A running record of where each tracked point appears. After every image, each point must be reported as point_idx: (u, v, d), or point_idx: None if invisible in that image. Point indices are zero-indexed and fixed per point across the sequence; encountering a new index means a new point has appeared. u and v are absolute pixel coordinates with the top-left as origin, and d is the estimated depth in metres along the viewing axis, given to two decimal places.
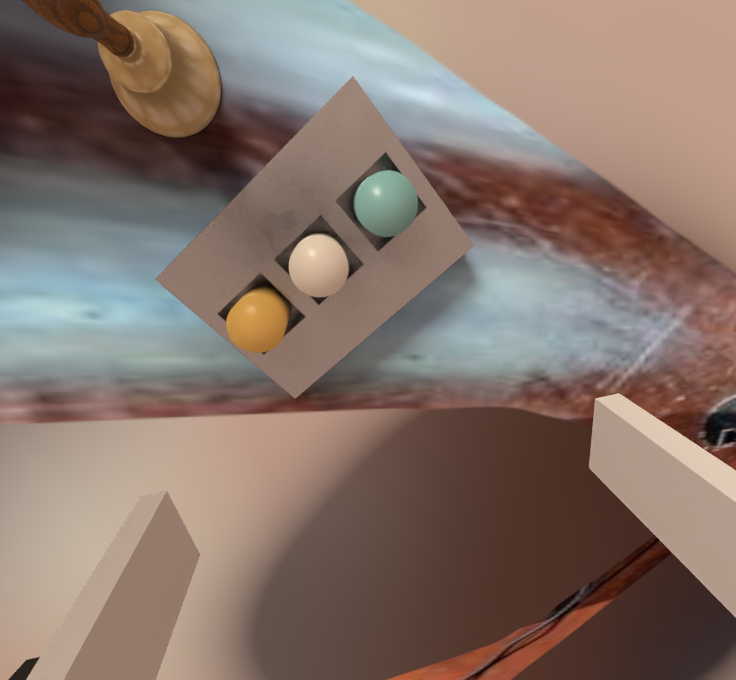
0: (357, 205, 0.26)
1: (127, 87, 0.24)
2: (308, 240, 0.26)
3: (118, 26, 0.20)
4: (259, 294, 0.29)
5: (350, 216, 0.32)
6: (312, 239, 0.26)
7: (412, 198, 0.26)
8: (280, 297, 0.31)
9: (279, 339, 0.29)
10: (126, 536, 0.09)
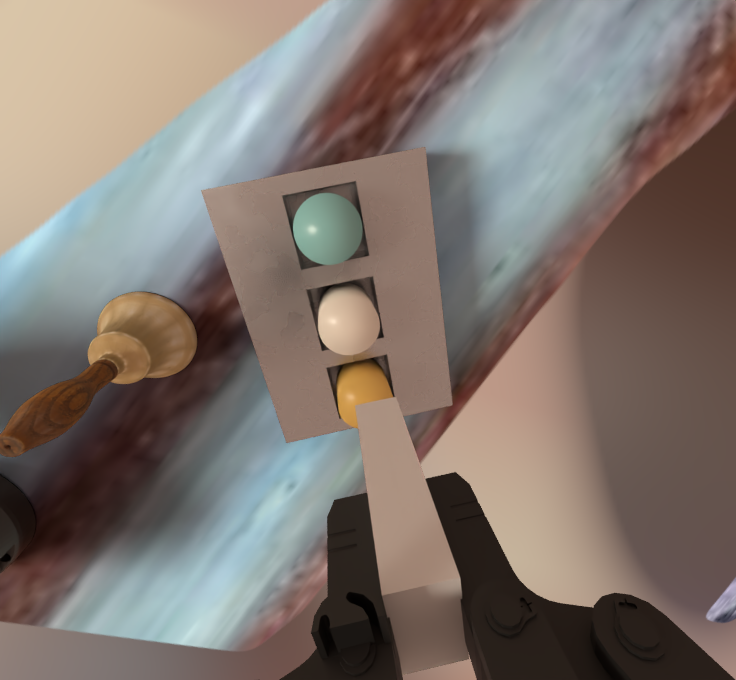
0: (313, 259, 0.24)
1: (141, 378, 0.28)
2: (319, 321, 0.26)
3: (93, 369, 0.24)
4: (342, 383, 0.29)
5: None
6: (320, 317, 0.26)
7: (335, 201, 0.23)
8: (356, 365, 0.31)
9: (389, 394, 0.29)
10: (368, 426, 0.11)
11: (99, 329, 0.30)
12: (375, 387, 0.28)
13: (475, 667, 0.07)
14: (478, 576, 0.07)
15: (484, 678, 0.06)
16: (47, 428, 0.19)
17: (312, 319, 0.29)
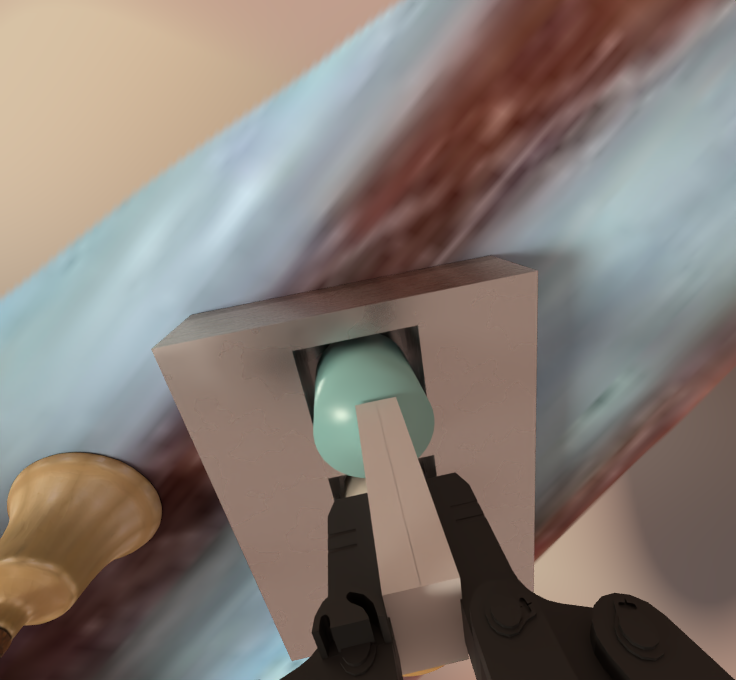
0: (346, 472, 0.14)
1: (62, 614, 0.18)
2: None
3: None
4: None
5: None
6: None
7: (390, 387, 0.13)
8: None
9: None
10: (368, 426, 0.11)
11: (9, 510, 0.20)
12: None
13: (475, 667, 0.07)
14: (478, 576, 0.07)
15: (484, 678, 0.06)
16: None
17: None
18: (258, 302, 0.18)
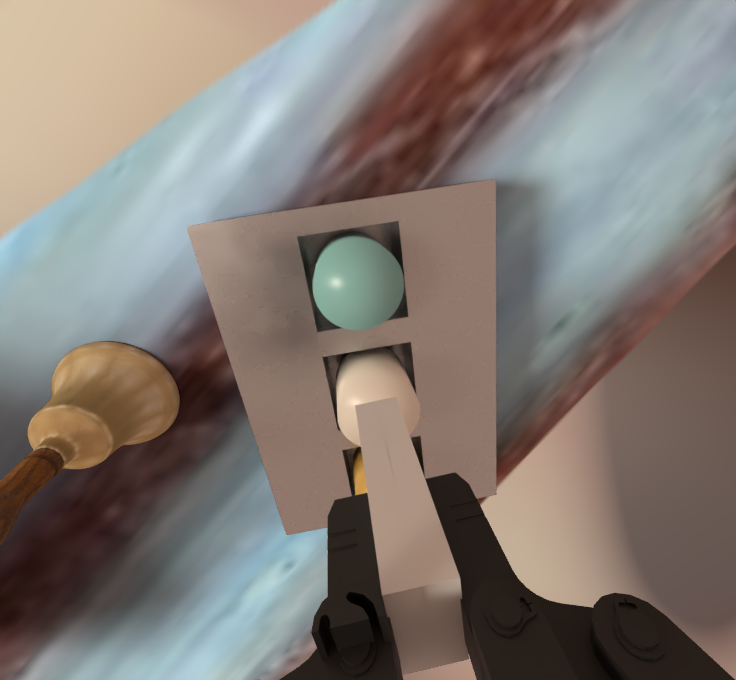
0: (336, 323, 0.18)
1: (100, 462, 0.21)
2: (340, 408, 0.19)
3: (24, 470, 0.17)
4: (363, 474, 0.23)
5: None
6: (342, 403, 0.19)
7: (371, 251, 0.17)
8: None
9: None
10: (368, 426, 0.11)
11: (53, 387, 0.24)
12: None
13: (475, 667, 0.07)
14: (478, 576, 0.07)
15: (484, 678, 0.06)
16: None
17: (328, 392, 0.22)
18: None
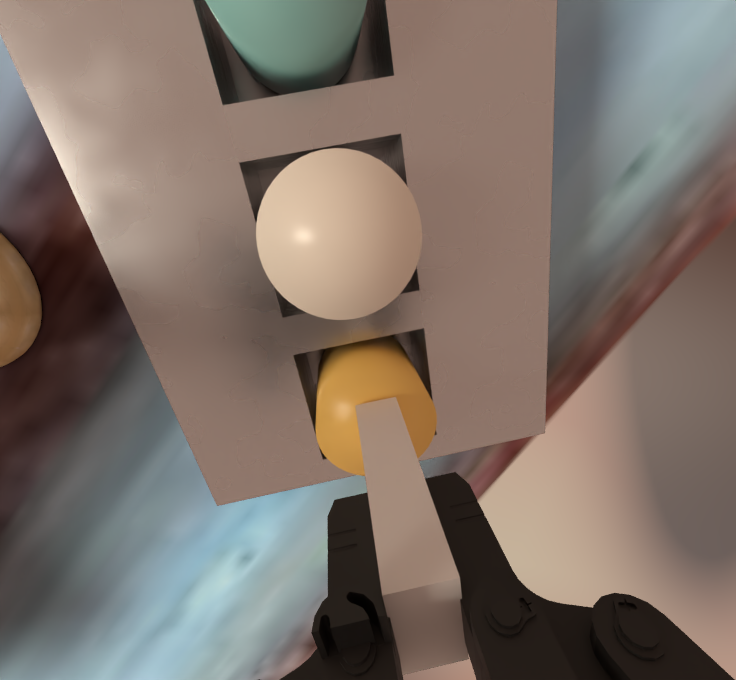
0: (240, 30, 0.09)
1: None
2: (260, 222, 0.09)
3: None
4: (327, 378, 0.14)
5: None
6: (262, 211, 0.09)
7: None
8: (357, 343, 0.15)
9: (428, 404, 0.13)
10: (368, 426, 0.11)
11: None
12: (398, 388, 0.13)
13: (475, 667, 0.07)
14: (478, 576, 0.07)
15: (484, 678, 0.06)
16: None
17: None
18: None
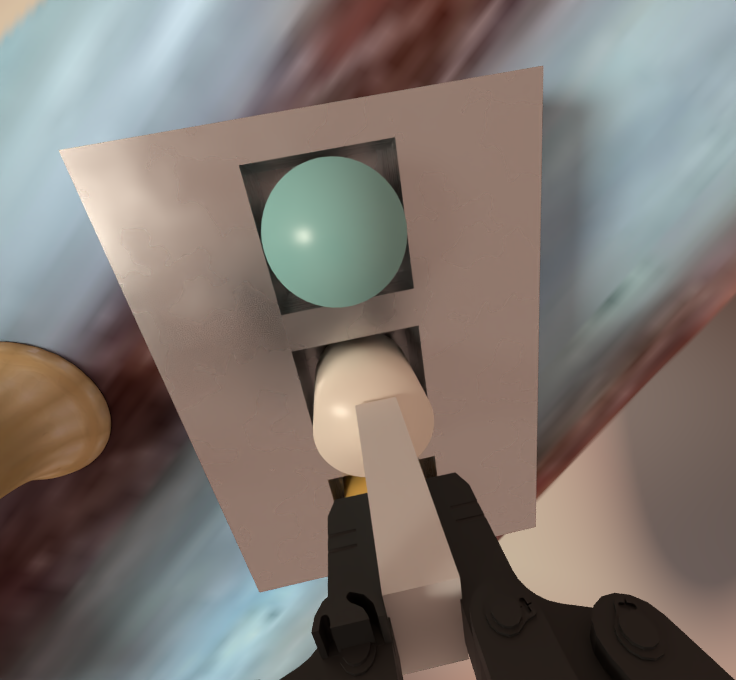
0: (304, 297, 0.12)
1: None
2: (316, 421, 0.13)
3: None
4: None
5: None
6: (318, 414, 0.13)
7: (352, 175, 0.11)
8: None
9: None
10: (368, 426, 0.11)
11: None
12: None
13: (475, 667, 0.07)
14: (478, 576, 0.07)
15: (484, 678, 0.06)
16: None
17: (303, 402, 0.15)
18: None
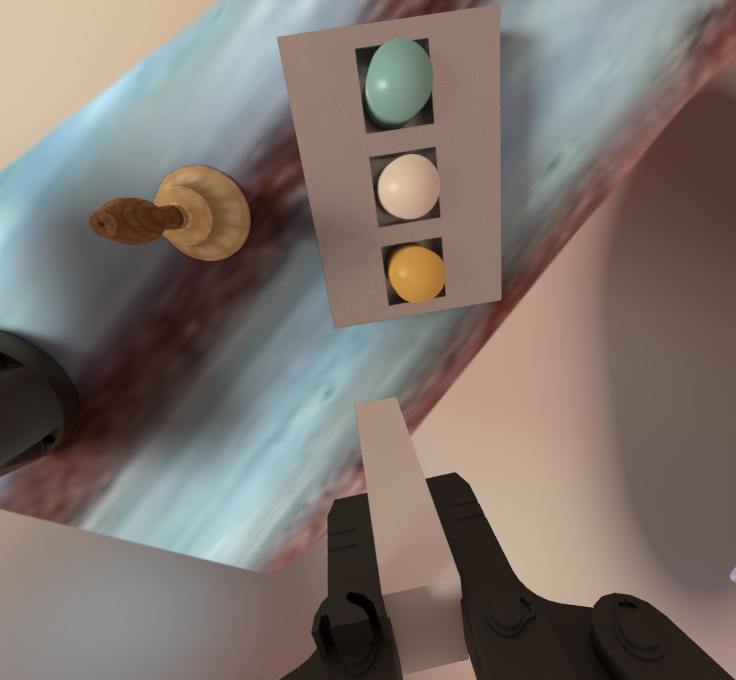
0: (383, 111, 0.25)
1: (201, 240, 0.28)
2: (383, 179, 0.27)
3: (164, 207, 0.24)
4: (396, 256, 0.30)
5: None
6: (385, 175, 0.27)
7: (410, 47, 0.24)
8: (408, 245, 0.32)
9: (442, 266, 0.30)
10: (368, 426, 0.11)
11: None
12: (429, 257, 0.29)
13: (475, 667, 0.07)
14: (478, 576, 0.07)
15: (484, 678, 0.06)
16: (134, 222, 0.19)
17: (372, 191, 0.29)
18: None
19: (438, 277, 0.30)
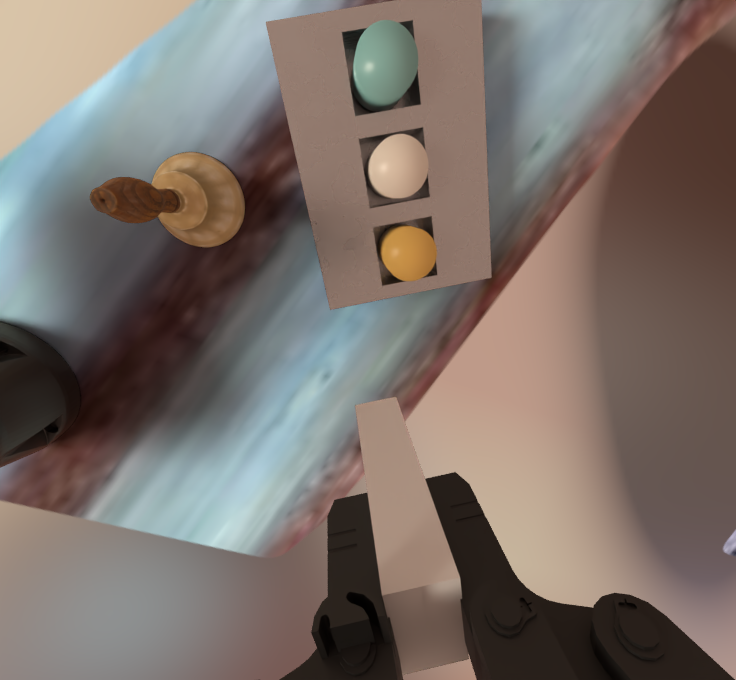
0: (371, 92, 0.26)
1: (197, 224, 0.29)
2: (373, 159, 0.28)
3: (161, 189, 0.25)
4: (388, 236, 0.31)
5: None
6: (374, 155, 0.27)
7: (395, 29, 0.25)
8: (400, 225, 0.33)
9: (433, 244, 0.31)
10: (368, 426, 0.11)
11: None
12: (420, 235, 0.30)
13: (475, 667, 0.07)
14: (478, 576, 0.07)
15: (484, 678, 0.06)
16: (133, 199, 0.20)
17: (362, 172, 0.30)
18: None
19: (429, 255, 0.31)
